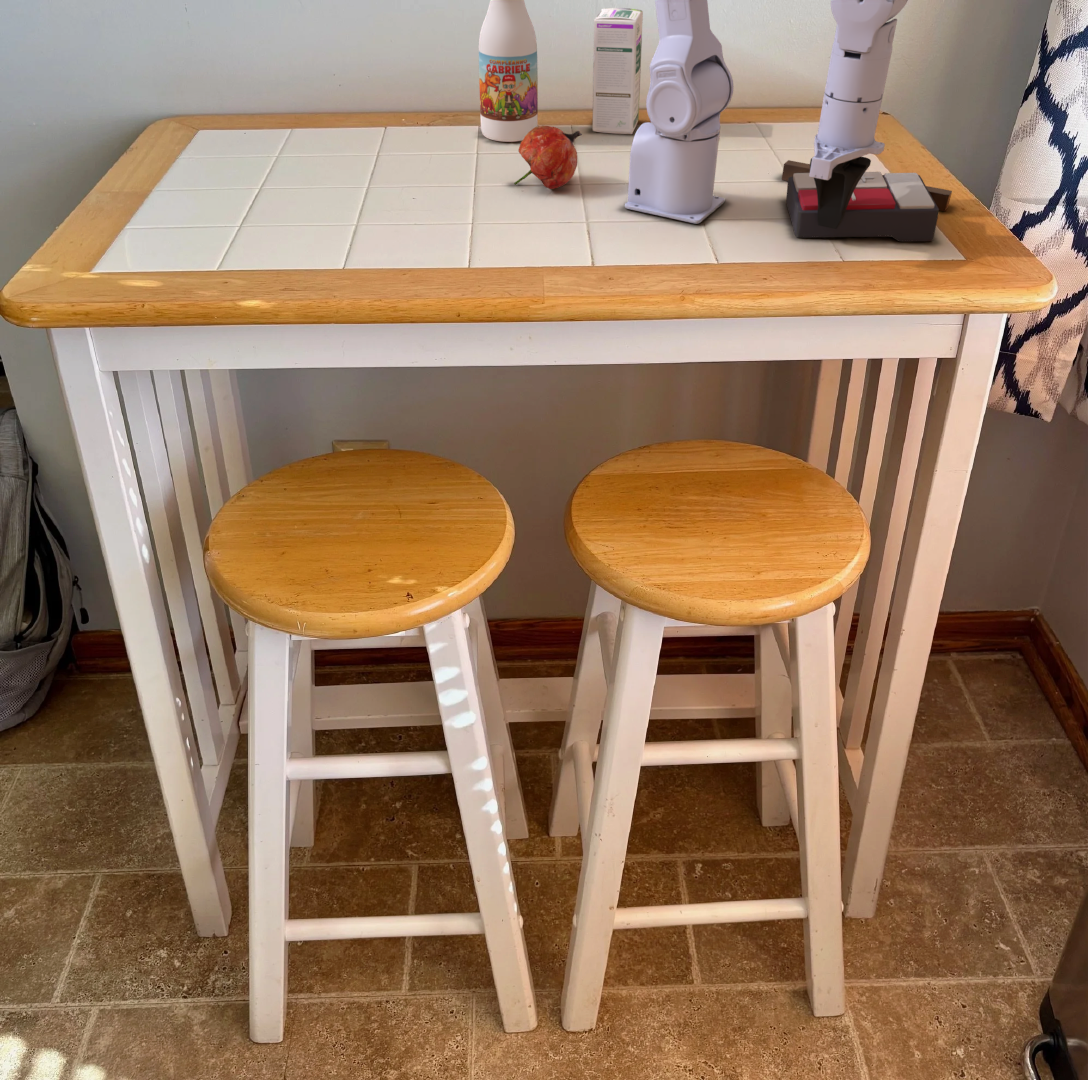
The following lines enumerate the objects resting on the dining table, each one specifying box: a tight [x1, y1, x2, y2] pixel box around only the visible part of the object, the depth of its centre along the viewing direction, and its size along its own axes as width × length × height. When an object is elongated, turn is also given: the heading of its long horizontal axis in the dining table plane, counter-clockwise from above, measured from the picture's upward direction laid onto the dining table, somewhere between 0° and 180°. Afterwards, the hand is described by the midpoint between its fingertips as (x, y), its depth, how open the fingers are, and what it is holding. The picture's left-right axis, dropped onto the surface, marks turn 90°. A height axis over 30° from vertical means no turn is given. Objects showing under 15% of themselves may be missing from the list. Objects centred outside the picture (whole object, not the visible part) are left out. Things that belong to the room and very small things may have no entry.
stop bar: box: [781, 159, 953, 212], centre depth 125 cm, size 20×2×2 cm, turn 60°
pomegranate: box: [513, 124, 583, 190], centre depth 125 cm, size 7×7×10 cm
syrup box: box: [591, 7, 644, 135], centre depth 140 cm, size 6×6×14 cm
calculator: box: [785, 171, 940, 242], centre depth 118 cm, size 11×4×15 cm
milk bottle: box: [478, 0, 539, 143], centre depth 136 cm, size 8×8×20 cm
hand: (828, 225), depth 113 cm, fingers closed, pressing on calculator
